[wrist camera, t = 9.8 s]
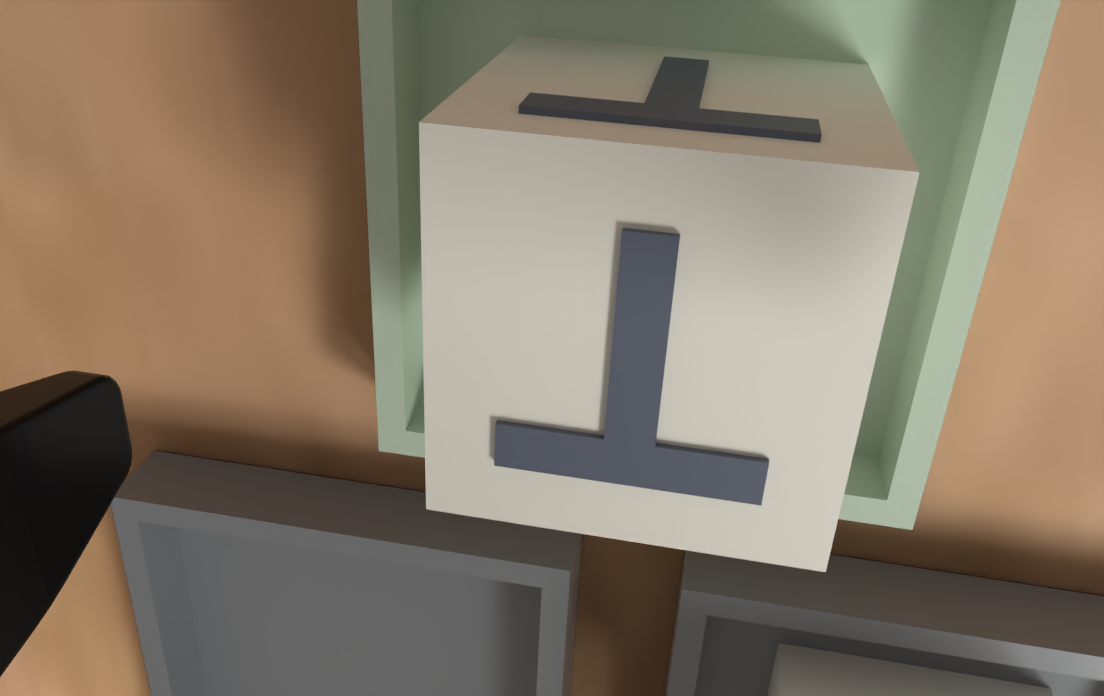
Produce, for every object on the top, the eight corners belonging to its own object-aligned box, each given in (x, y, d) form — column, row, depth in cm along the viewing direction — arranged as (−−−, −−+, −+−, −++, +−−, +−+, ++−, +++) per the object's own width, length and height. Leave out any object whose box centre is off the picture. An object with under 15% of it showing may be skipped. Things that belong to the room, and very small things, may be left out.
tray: (1046, -86, 13) (1082, -76, 11) (900, 473, 17) (912, 529, 16) (390, -125, 14) (351, -121, 13) (407, 404, 18) (378, 450, 17)
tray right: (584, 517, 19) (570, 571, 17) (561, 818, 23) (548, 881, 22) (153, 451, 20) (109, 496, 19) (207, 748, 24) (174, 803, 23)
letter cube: (869, 58, 14) (923, 166, 9) (807, 372, 16) (825, 577, 12) (522, 28, 14) (415, 115, 10) (511, 334, 17) (424, 513, 12)
